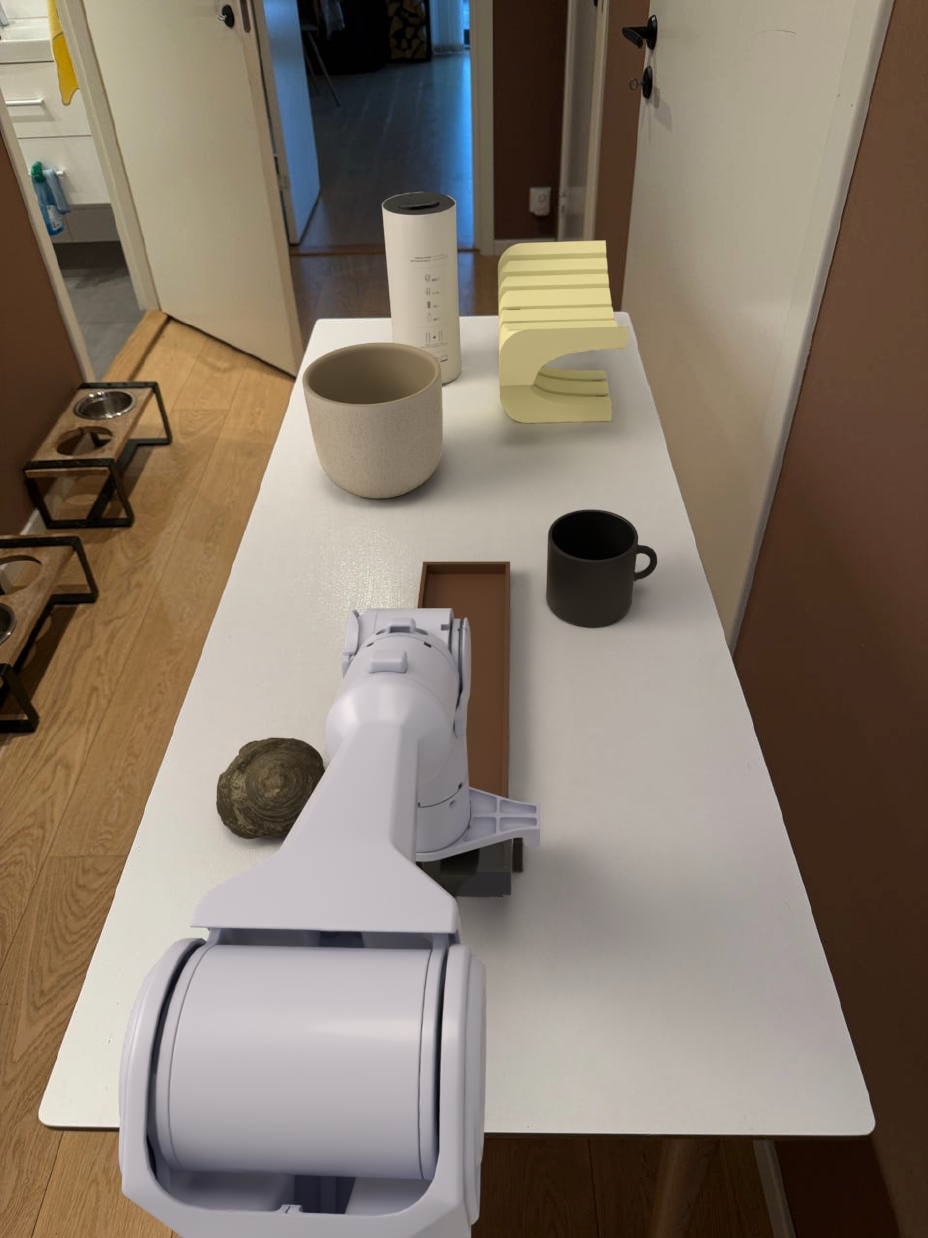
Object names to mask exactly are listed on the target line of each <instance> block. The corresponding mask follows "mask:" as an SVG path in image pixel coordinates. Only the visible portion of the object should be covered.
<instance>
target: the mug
mask: <svg viewBox="0 0 928 1238" xmlns="http://www.w3.org/2000/svg"><path fill="white" fill-rule="evenodd" d="M546 553H547V555H546V581H545V583H546V584H545V585H546V586H545V588H546V589H545V600H546V603H547V606H548V608H549V610H551V612H552V613H553V614H554V615H555V616H556V617H557V618H559V619H561V620H562V621H564V622H566V623H568V624H571V625H573V626H574V625H575V626H580V627H586V628H587V627H588V628H595V627H596V628H597V627H604V626H607V625H610V624H613V623H615V622H617V621H619V620H620V619H622V618H623V617H624V616H625V615H626V614H627V613H628V611H629V609H630V608H631V606H632V603H633V601H632V600H633V591H634V583H635V582H637V581H639V580H643V579H646V578H647V577H649V576H650V575H652V574H653V572H654V571H655V570H656V568H657V565H658V555H657V552H656V551H655V550H654V549H653V548H652V547H650V546H648V545H643V544H639V533H638V530H637V529H636V527H635V526H634V525H633V523H632V522H631V521H630V520H628V519H627V518H626V517H623V516H622V515H619V514H617V513H614V512H612V511H608V510H604V509H603V510H602V509H592V508H591V509H589V508H588V509H579V510H574V511H571V512H567V513H565V514H563V515H560V516H559V517H557V518H556V519H555V520H554V521H553V522H552V523H551V525H550V526H549V529H548V532H547V552H546ZM640 554H643V555H646V556H647V557H648V558H649V563H648V565H647V567H645V568H644V569H642V570H640V571H636V566H637V565H636V564H637V556H638V555H640Z"/></svg>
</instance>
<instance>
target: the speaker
mask: <svg viewBox="0 0 928 1238" xmlns="http://www.w3.org/2000/svg"><path fill="white" fill-rule="evenodd" d="M381 210H382V221H383V235H384V246H385V257H386V258H385V259H386V270H387V281H388V293H389V294H388V295H389V306H390V316H391V317H390V320H391V329H392V343H398V344H405V345H409V346H413V347H417V348H419V349H422V350H424V351H426V352H428V353H430V354H431V355H432V356H434V357H435V358H436V359H437V361H438V362H439V364H440V367H441V375H442V386H445V385H447V384H450V383H453V382H454V381H455V380H456V379H458V377H459V376H460V375H461V374H462V371H463V370H462V369H463V368H462V367H463V366H462V349H461V348H462V347H461V326H460V302H459V299H460V297H459V296H460V295H459V273H458V272H459V270H458V268H459V267H458V242H457V241H458V237H457V236H458V234H457V233H458V231H457V201H456V200H455V199H454V198H453V197H452V196H450V195H447V194H443V193H439V192H432V191H431V192H430V191H417V192H407V193H402V194H396V195H394V196H391V197H389V198H387V199H385V200H384V201H382V203H381Z"/></svg>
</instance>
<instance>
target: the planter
mask: <svg viewBox="0 0 928 1238" xmlns="http://www.w3.org/2000/svg"><path fill="white" fill-rule="evenodd" d="M301 379H302V380H301V381H302V389H303V394H304V399H305V404H306V410H307V414H308V420H309V425H310V430H311V434H312V439H313V444H314V448H315V451H316V455H317V458H318V461H319V463H320V467H321V468H322V470H323V471H324V474H325V475H326V476H327V478H328V479H329V480H330V481H331V482H332V483H333V484H334V485H336V486H338V488H340V489H341V490H343V491H346V492H347V493H349V494H352V495H355V496H357V497H362V498H367V499H388V498H395V497H399V496H402V495H405V494H407V493H409V492H411V491H414V490H415V489H417V488H418V487H420V486H421V485H422V484H424V483H425V482H426V481H427V480H429V478H430V477H431V476H432V475H433V474H434V472H435V471H436V468H437V467H438V464H439V462H440V459H441V455H442V450H443V438H444V414H443V413H444V411H443V385H442V375H441V367H440V364H439V362H438V361H437V359H436V358H435V357H434V356H432V355H431V354H430V353H428V352H426V351H424V350H422V349H419V348H417V347H413V346H409V345H405V344H398V343H393V342H366V343H358V344H353V345H348V346H344V347H341V348H338V349H334V350H332V351H329V352H327V353H325V354H323V355H321V356H319V357H318V358H316V359H315V360H313V361H312V362H311V363H310V364H309V365H308V366H307V367H306V368H305V370H304V371H303V374H302V378H301Z"/></svg>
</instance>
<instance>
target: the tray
mask: <svg viewBox="0 0 928 1238" xmlns="http://www.w3.org/2000/svg"><path fill="white" fill-rule="evenodd" d="M420 575H421V576H420V582H419V591H418V597H417V598H418V600H417V607H416V608H452V610H453V614H454V619H461V620H462V625H463V622H464V618H467V619H468V622H469V626H470V634H471V686H470V696H469V700H468V705H467V723H466V741H467V760H468V778H469V787H472V788H475V789H478V790H481V791H485V792H488V793H491V794H494V795H498V796H501V797H504V798H507V799H509V738H510V737H509V736H510V735H509V734H510V733H509V727H510V725H509V723H510V722H509V720H510V716H509V715H510V638H511V637H510V633H511V632H510V631H511V626H510V625H511V620H510V619H511V561H510V560H507V561H506V560H505V561H504V560H503V561H502V560H501V561H500V560H499V561H497V560H496V561H495V560H494V561H483V560H481V561H479V560H478V561H477V560H476V561H475V560H474V561H471V560H469V561H422V567H421V574H420Z"/></svg>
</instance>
